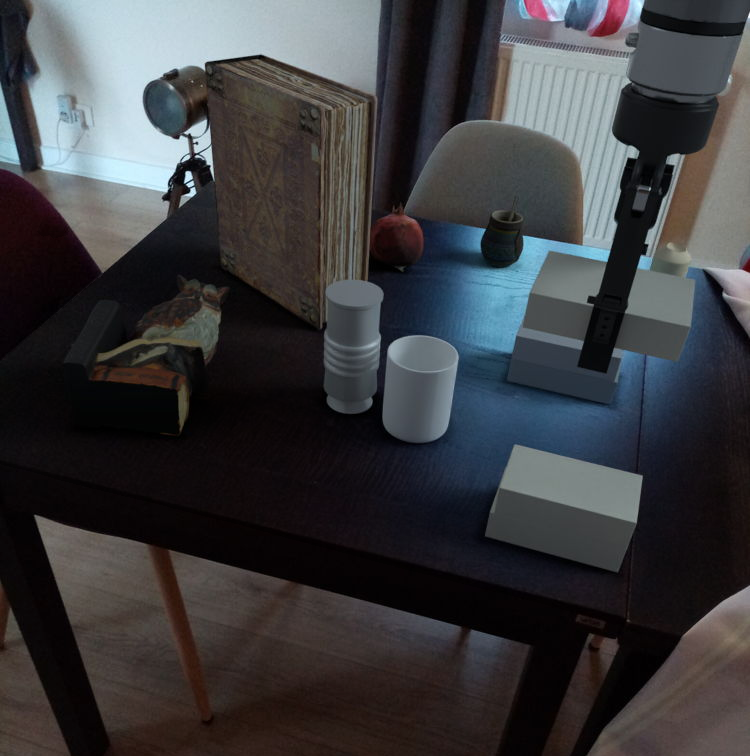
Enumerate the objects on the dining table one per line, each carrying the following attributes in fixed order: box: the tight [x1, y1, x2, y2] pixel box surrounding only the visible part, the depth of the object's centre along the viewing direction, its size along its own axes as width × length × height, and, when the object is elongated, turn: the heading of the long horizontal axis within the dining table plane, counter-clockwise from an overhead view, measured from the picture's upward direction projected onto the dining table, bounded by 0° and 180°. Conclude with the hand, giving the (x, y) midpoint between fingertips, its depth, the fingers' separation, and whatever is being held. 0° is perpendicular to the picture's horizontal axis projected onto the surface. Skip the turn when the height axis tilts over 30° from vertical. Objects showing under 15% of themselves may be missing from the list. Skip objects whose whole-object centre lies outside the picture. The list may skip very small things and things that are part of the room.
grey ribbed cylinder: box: [323, 280, 385, 415], centre depth 96 cm, size 7×7×15 cm
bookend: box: [61, 274, 230, 437], centre depth 98 cm, size 15×11×25 cm
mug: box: [381, 334, 460, 444], centre depth 95 cm, size 12×8×10 cm
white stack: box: [484, 443, 644, 573], centre depth 82 cm, size 14×8×7 cm, turn 71°
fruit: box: [369, 202, 424, 273], centre depth 128 cm, size 9×10×10 cm
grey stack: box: [506, 315, 624, 405], centre depth 105 cm, size 14×8×7 cm, turn 71°
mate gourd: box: [479, 196, 525, 268], centre depth 131 cm, size 7×8×10 cm
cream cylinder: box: [649, 241, 693, 278], centre depth 122 cm, size 6×6×10 cm
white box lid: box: [523, 250, 696, 363], centre depth 73 cm, size 14×10×4 cm
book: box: [204, 53, 378, 331], centre depth 112 cm, size 25×9×30 cm, turn 42°
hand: (599, 341), depth 75 cm, fingers closed on white box lid, 10 cm apart
